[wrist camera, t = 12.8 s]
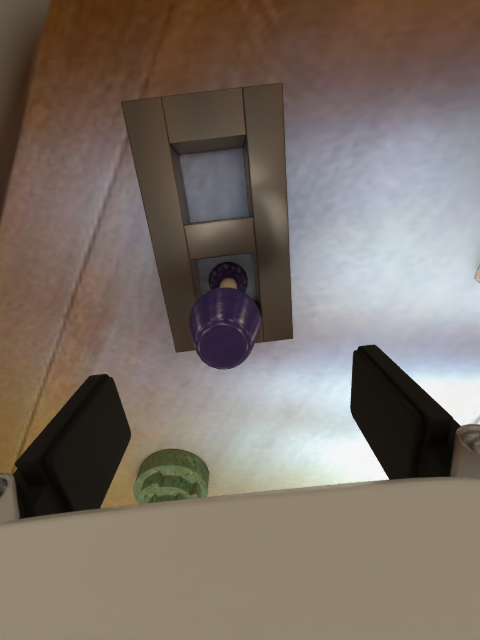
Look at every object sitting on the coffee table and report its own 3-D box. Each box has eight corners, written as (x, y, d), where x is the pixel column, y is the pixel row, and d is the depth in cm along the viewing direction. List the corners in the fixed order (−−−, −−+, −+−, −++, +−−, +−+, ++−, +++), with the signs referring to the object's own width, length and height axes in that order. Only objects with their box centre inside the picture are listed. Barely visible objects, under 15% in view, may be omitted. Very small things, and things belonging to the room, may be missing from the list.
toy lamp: (197, 287, 30) (166, 366, 15) (216, 248, 29) (203, 291, 13) (236, 306, 31) (245, 399, 16) (256, 269, 30) (288, 332, 14)
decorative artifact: (127, 482, 40) (185, 507, 43) (107, 534, 34) (178, 560, 36) (161, 438, 38) (222, 467, 40) (147, 486, 31) (220, 517, 34)
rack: (273, 104, 24) (282, 82, 20) (284, 322, 32) (293, 339, 28) (138, 120, 24) (120, 101, 20) (182, 334, 32) (175, 352, 28)
